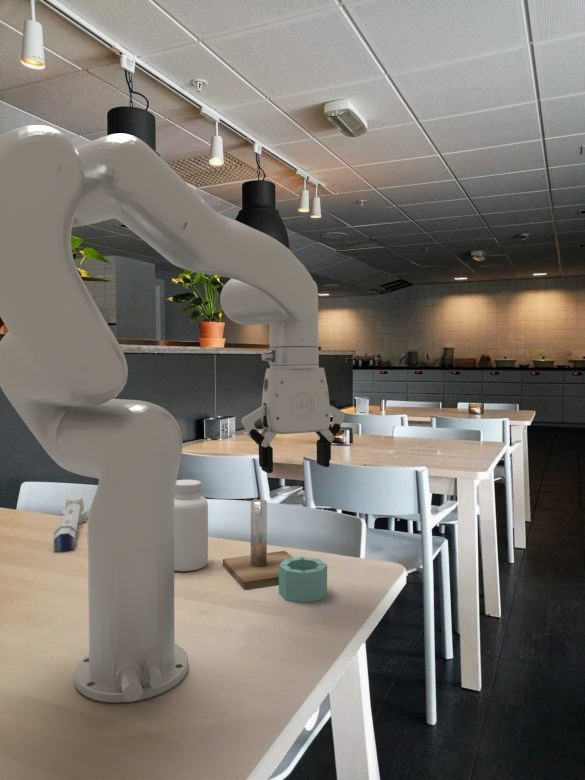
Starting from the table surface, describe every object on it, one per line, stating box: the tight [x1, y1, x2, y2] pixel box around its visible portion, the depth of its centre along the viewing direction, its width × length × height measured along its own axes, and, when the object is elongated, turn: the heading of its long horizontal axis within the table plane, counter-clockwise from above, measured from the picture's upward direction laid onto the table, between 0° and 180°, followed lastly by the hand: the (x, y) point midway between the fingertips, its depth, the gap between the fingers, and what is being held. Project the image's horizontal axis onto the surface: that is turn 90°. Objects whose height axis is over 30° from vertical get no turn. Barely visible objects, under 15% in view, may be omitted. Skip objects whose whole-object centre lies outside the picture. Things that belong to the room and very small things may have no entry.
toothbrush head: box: [53, 494, 88, 553], centre depth 123 cm, size 5×7×25 cm
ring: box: [278, 556, 328, 604], centre depth 91 cm, size 7×7×4 cm
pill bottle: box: [174, 479, 209, 572], centre depth 103 cm, size 8×8×15 cm
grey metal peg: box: [250, 499, 268, 567], centre depth 100 cm, size 3×3×11 cm
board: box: [222, 550, 295, 590], centre depth 100 cm, size 12×12×1 cm
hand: (295, 468), depth 91 cm, fingers open, 9 cm apart
